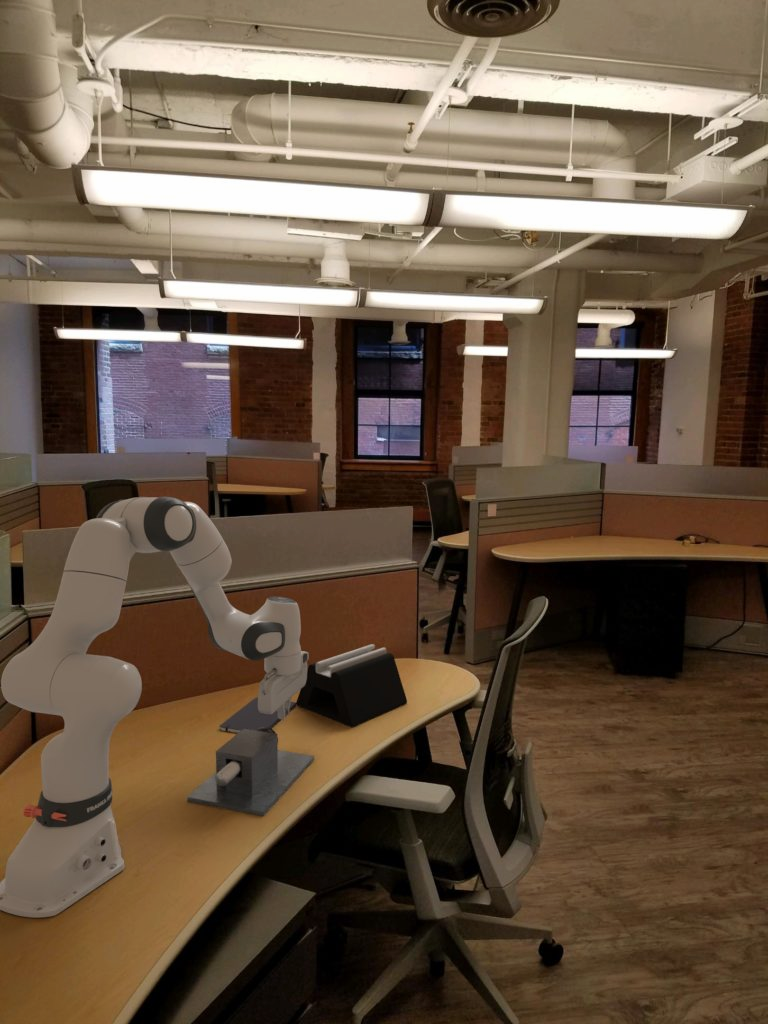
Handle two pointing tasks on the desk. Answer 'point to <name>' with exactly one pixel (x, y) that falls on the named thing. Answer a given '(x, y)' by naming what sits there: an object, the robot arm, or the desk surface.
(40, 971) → the desk surface
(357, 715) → the device stand
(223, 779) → the shaft
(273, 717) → the paper product
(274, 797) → the bearing housing
